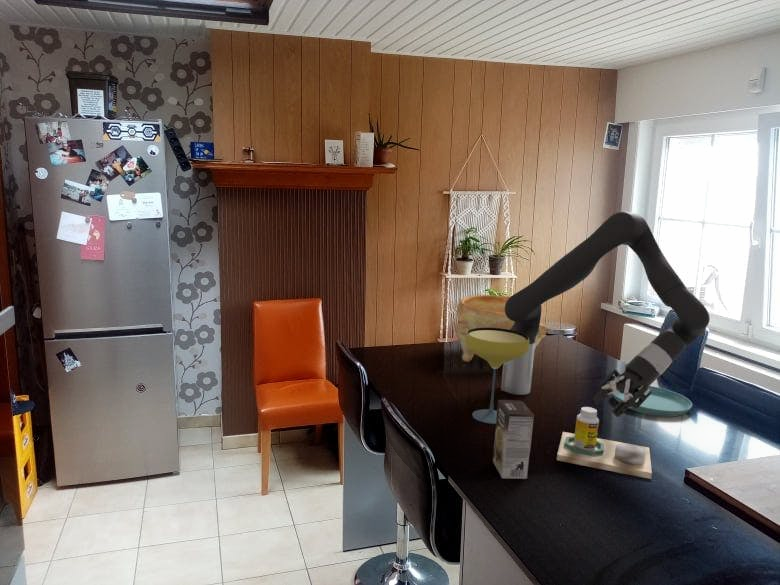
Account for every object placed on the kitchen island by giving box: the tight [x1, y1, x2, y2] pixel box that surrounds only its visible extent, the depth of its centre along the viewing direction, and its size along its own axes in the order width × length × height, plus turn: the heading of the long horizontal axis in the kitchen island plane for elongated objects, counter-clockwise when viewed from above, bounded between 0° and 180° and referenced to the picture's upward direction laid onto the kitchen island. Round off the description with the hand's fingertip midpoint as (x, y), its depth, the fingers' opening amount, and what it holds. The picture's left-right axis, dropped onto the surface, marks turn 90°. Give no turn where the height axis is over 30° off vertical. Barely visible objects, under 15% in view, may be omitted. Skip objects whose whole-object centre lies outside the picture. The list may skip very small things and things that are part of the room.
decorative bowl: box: [453, 294, 547, 363], centre depth 241 cm, size 34×35×23 cm
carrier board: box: [556, 431, 653, 480], centre depth 157 cm, size 22×16×4 cm
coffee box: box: [492, 399, 535, 480], centre depth 145 cm, size 9×6×16 cm
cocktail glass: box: [466, 328, 529, 425], centre depth 178 cm, size 18×18×25 cm
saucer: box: [612, 385, 693, 418], centre depth 198 cm, size 24×24×3 cm
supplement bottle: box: [574, 406, 600, 450], centre depth 158 cm, size 6×6×10 cm
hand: (604, 408), depth 158 cm, fingers open, 8 cm apart
